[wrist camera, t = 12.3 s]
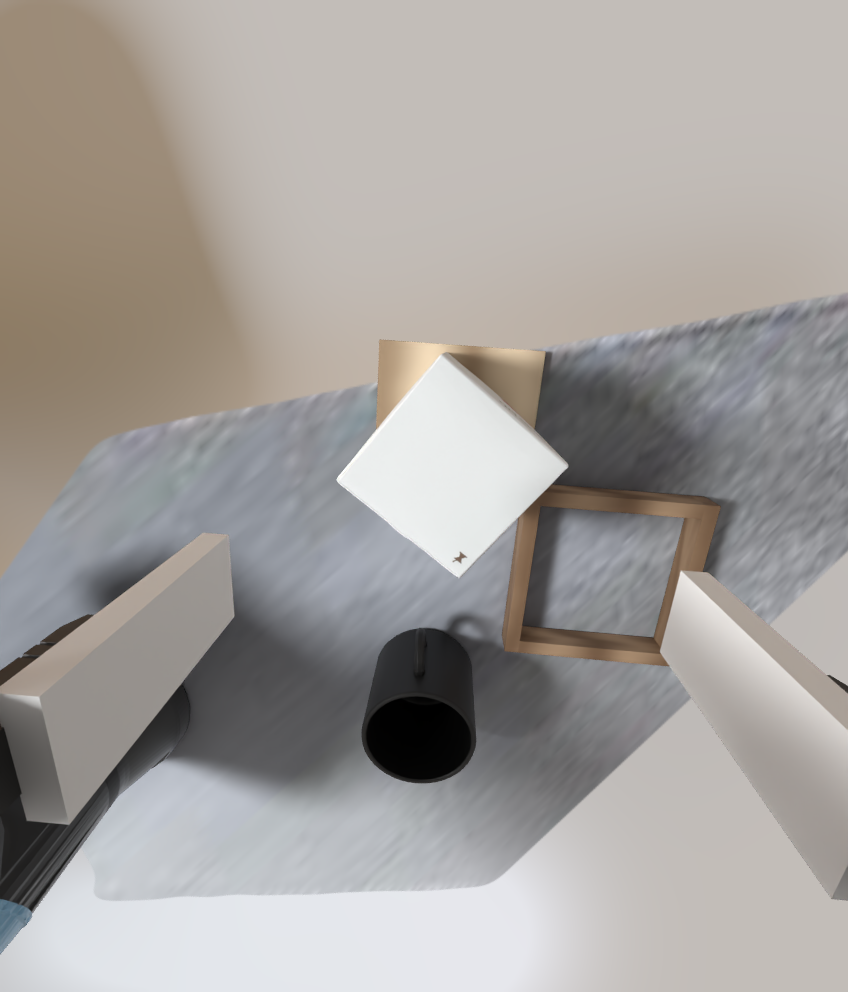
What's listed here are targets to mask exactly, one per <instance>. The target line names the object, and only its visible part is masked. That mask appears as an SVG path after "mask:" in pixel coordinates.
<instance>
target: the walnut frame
mask: <svg viewBox="0 0 848 992" xmlns="http://www.w3.org/2000/svg"><path fill="white" fill-rule="evenodd" d="M541 506H547V507H560V508H572V509H584V510H596V511H609V512H621V513H633V514H645V515H658V516H670V517H682V518H685V519H684V522H683V526H682V530H681V534H680V538H679V542H678V546H677V549H676V553H675V557H674V561H673V565H672V569H671V573H670V576H669V580H668V584H667V588H666V592H665V596H664V600H663V603H662V607H661V611H660V615H659V619H658V623H657V627H656V630H655V634H654V638H650V637H639V636H628V635H617V634H606V633H595V632H583V631H572V630H561V629H550V628H539V627H528V626H522V623H523V616H524V610H525V604H526V597H527V591H528V584H529V578H530V571H531V565H532V558H533V552H534V545H535V539H536V532H537V526H538V520H539V513H540V507H541ZM720 508H721V506H720V505H718V504H716V503H714V502H713V501H711V500H709V499H708V498H706V497H702V496H689V495H677V494H664V493H652V492H639V491H627V490H615V489H602V488H590V487H577V486H565V485H552V484H551V485H550V486H549V487H548V488H547V489H546V490H545V491H544V492H543V493H542V494H541V495H540V496H539V497H538V498H537V499H536V500H535V501H534V502H533V503H532V504H531V505H530V506H529V507H528V508H527V509H526V510H525V511H524V513H523V514H522V515H521V516H520V517H519V518H518V524H517V531H516V538H515V545H514V552H513V559H512V566H511V574H510V581H509V588H508V595H507V602H506V609H505V616H504V624H503V631H502V638H503V644H504V650H505V651H508V652H519V653H529V654H540V655H551V656H562V657H573V658H584V659H595V660H606V661H617V662H628V663H639V664H649V665H660V666H669V665H668V663H667V662H666V660H665V659H664V657H663V656H662V654H661V653H660V649H661V645H662V642H663V638H664V634H665V630H666V626H667V622H668V618H669V615H670V611H671V607H672V603H673V599H674V595H675V591H676V588H677V584H678V580H679V576H680V572H681V570H682V571H694V572H703V568H704V565H705V561H706V558H707V554H708V551H709V547H710V544H711V540H712V536H713V533H714V529H715V526H716V522H717V519H718V515H719V512H720Z"/></svg>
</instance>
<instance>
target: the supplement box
mask: <svg viewBox="0 0 848 992" xmlns="http://www.w3.org/2000/svg"><path fill="white" fill-rule="evenodd" d="M568 466H569V465H568V464H567V462H566V461H565V460H564V459H563V458H562V457H561V456H560V455H559V454H558V453H557V452H556V451H555V450H554V449H553V448H552V447H551V446H550V445H549V444H548V443H547V442H546V441H545V440H544V439H543V438H542V437H541V436H540V435H539V434H538V433H537V432H536V431H535V430H534V429H533V428H532V427H531V426H530V425H529V424H528V423H527V422H526V421H525V420H524V419H523V418H522V417H521V416H520V415H519V414H518V413H517V412H516V411H515V410H514V409H513V408H512V407H511V406H510V405H508V403H506V402H505V401H504V400H503V399H502V398H501V397H500V396H498V395H497V394H496V393H495V392H494V391H493V390H492V389H490V388H489V387H488V386H487V385H486V384H485V383H483V382H482V381H481V380H480V379H479V378H477V377H476V376H475V375H474V374H473V373H471V372H470V371H469V370H468V369H467V368H465V367H464V366H463V365H462V364H461V363H459V362H458V361H457V360H456V359H455V358H454V357H452V356H451V355H450V354H449V353H447V352H445V353H443V354H441V355H440V356H439V357H438V358H437V359H436V360H435V361H434V362H433V364H432V365H431V366H430V367H429V368H428V369H427V370H426V371H425V373H424V374H423V375H422V376H421V377H420V378H419V379H418V381H417V382H416V383H415V384H414V385H413V386H412V388H411V389H410V390H409V391H408V392H407V393H406V395H405V396H404V397H403V398H402V399H401V400H400V402H399V403H398V404H397V405H396V406H395V408H394V409H393V410H392V411H391V412H390V414H389V415H388V416H387V417H386V419H385V420H384V421H383V422H382V423H381V425H380V426H379V427H378V428H377V430H376V431H375V432H374V433H373V435H372V436H371V437H370V438H369V439H368V441H367V442H366V443H365V444H364V446H363V447H362V448H361V449H360V451H359V452H358V453H357V454H356V456H355V457H354V458H353V459H352V461H351V462H350V463H349V464H348V466H347V467H346V468H345V469H344V470H343V472H342V473H341V474H340V475H339V477H338V478H337V481H338V483H339V484H340V485H341V486H343V487H344V488H345V489H347V490H348V491H349V492H350V493H352V494H353V495H354V496H355V497H357V498H358V499H359V500H360V501H362V502H363V503H364V504H366V505H367V506H368V507H369V508H371V509H372V510H373V511H374V512H376V513H377V514H378V515H379V516H381V517H382V518H383V519H384V520H386V521H387V522H388V523H389V524H390V525H391V526H392V527H393V528H394V529H395V530H396V531H398V532H399V533H400V534H401V535H403V536H404V537H406V538H408V539H410V540H411V541H412V542H413V543H415V544H416V545H417V546H418V547H420V548H421V549H422V550H424V551H425V552H426V553H427V554H429V555H430V556H431V557H432V558H433V559H435V560H436V561H437V562H438V563H440V564H441V565H442V566H443V567H445V568H446V569H447V570H449V571H450V572H451V573H452V574H454V575H455V576H456V577H458V578H461V577H462V576H463V575H464V574H465V573H466V572H467V571H468V570H469V569H470V568H471V566H472V565H473V564H474V563H475V562H476V561H477V560H478V559H479V558H480V557H481V556H482V555H483V554H484V553H485V552H486V551H487V550H488V549H489V548H490V547H491V546H492V545H493V544H494V543H495V542H496V541H497V539H498V538H499V537H500V536H501V535H502V534H503V533H504V532H505V531H506V530H507V529H508V528H509V527H510V526H511V525H512V524H513V523H514V522H515V521H516V520H517V519H518V518H519V517H520V516H521V515H522V514H523V513H524V511H525V510H526V509H527V508H528V507H529V506H530V505H531V504H532V503H533V502H534V501H535V500H536V499H537V498H538V497H539V496H540V495H541V494H542V493H543V492H544V491H545V490H546V489H547V488H548V487H549V486H550V485H551V484H552V483H553V482H554V481H555V480H556V479H557V478H558V477H559V476H560V475H561V474H562V473H563V472H564V471H565V470H566V469H567V468H568Z"/></svg>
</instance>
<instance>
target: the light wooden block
mask: <svg viewBox="0 0 848 992" xmlns="http://www.w3.org/2000/svg"><path fill="white" fill-rule="evenodd" d="M445 352H447V353H449V354H450V355H451V356H452V357H454V358H455V359H456V360H457V361H458V362H459V363H461V364H462V365H463V366H464V367H465V368H467V369H468V370H469V371H470V372H471V373H473V374H474V375H475V376H476V377H477V378H479V379H480V380H481V381H482V382H483V383H485V384H486V385H487V386H488V387H489V388H490V389H492V390H493V391H494V392H495V393H496V394H497V395H498V396H500V397H501V398H502V399H503V400H504V401H505V402H506V403H508V405H510V406H511V407H512V408H513V409H514V410H515V411H516V412H517V413H518V414H519V415H520V416H521V417H522V418H523V419H524V420H525V421H526V422H527V423H528V424H529V425H530V426H531V427H532V428H533V429H534V430H535V423H536V416H537V409H538V402H539V395H540V388H541V381H542V374H543V367H544V360H545V353H546V351H532V350H518V349H504V348H490V347H476V346H462V345H447V344H434V343H420V342H406V341H392V340H380V341H379V367H378V395H377V423H376V430H377V428H378V427H379V426H380V425H381V423H382V422H383V421H384V420H385V419H386V417H387V416H388V415H389V414H390V412H391V411H392V410H393V409H394V408H395V406H396V405H397V404H398V403H399V402H400V400H401V399H402V398H403V397H404V396H405V395H406V393H407V392H408V391H409V390H410V389H411V388H412V386H413V385H414V384H415V383H416V382H417V381H418V379H419V378H420V377H421V376H422V375H423V374H424V373H425V371H426V370H427V369H428V368H429V367H430V366H431V365H432V364H433V362H434V361H435V360H436V359H437V358H438V357H439V356H440V355H441V354H443V353H445Z"/></svg>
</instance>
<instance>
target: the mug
mask: <svg viewBox="0 0 848 992" xmlns="http://www.w3.org/2000/svg"><path fill="white" fill-rule="evenodd" d="M362 742H363V746H364V749H365V752H366V753H367V755H368V757H369V758H370V760H371V761H372V762H373V763H374V764H375V765H376V766H377V767H378V768H379V769H380V770H382V771H383V772H384V773H386V774H388V775H390V776H392V777H394V778H396V779H399V780H402V781H406V782H411V783H433V782H438V781H442V780H445V779H447V778H449V777H452V776H453V775H455V774H457V773H458V772H459V771H461V770H462V769H463V768H464V767H465V766H466V765H467V764H468V762H469V761H470V759H471V757H472V756H473V753H474V750H475V746H476V729H475V714H474V698H473V682H472V667H471V662H470V659H469V657H468V655H467V653H466V651H465V650H464V648H463V647H462V646H461V645H460V644H459V643H458V642H457V641H456V640H455V639H453V638H452V637H450V636H448V635H447V634H445V633H442V632H439V631H436V630H431V629H424V628H419V629H414V630H409V631H406V632H403V633H401V634H399V635H397V636H396V637H394V638H393V639H391V640H390V641H389V642H388V643H387V644H386V645H385V646H384V648H383V649H382V651H381V653H380V655H379V657H378V661H377V666H376V670H375V674H374V679H373V683H372V687H371V692H370V696H369V700H368V704H367V709H366V713H365V717H364V722H363V726H362Z"/></svg>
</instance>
